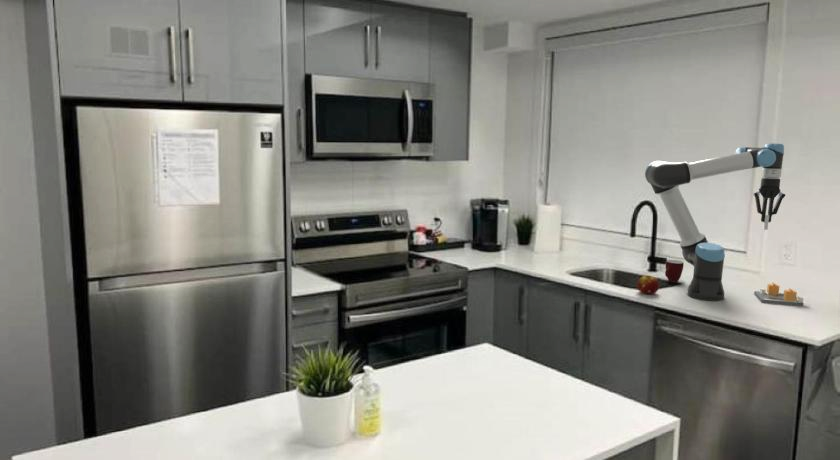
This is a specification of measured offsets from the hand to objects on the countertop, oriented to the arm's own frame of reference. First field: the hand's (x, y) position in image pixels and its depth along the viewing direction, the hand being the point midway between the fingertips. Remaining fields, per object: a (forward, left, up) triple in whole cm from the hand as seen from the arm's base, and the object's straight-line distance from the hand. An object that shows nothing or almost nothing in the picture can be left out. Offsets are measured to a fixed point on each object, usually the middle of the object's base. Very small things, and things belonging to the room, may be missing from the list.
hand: (764, 229), depth 277 cm
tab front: (+8, -19, -28) cm, 34 cm away
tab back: (+4, -10, -28) cm, 30 cm away
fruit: (-50, -22, -30) cm, 62 cm away
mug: (-37, +4, -30) cm, 48 cm away
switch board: (+5, -14, -29) cm, 33 cm away
